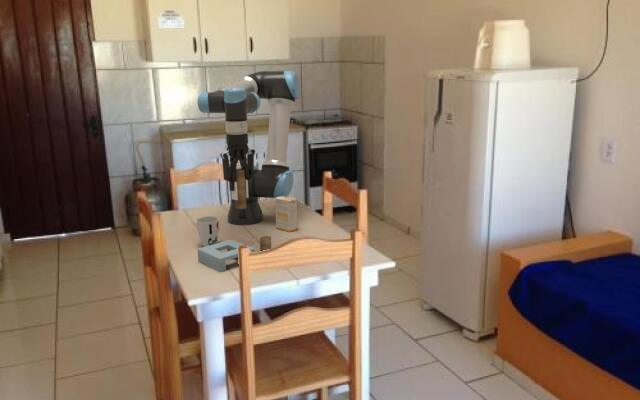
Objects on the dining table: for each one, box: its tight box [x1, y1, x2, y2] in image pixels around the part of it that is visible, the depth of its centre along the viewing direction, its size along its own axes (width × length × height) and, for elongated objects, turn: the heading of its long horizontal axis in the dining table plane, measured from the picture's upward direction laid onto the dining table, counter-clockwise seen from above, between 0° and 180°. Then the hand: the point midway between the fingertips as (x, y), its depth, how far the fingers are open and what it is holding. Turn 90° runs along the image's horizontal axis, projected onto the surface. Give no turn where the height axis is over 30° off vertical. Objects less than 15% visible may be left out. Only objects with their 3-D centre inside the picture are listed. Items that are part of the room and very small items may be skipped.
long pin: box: [235, 169, 246, 209], centre depth 199 cm, size 4×4×14 cm
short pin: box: [259, 235, 272, 252], centre depth 198 cm, size 4×4×6 cm
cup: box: [195, 216, 220, 247], centre depth 208 cm, size 8×8×10 cm
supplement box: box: [274, 196, 299, 233], centre depth 225 cm, size 8×5×13 cm, turn 47°
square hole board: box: [196, 239, 256, 273], centre depth 192 cm, size 14×14×4 cm
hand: (240, 198), depth 200 cm, fingers closed on long pin, 4 cm apart
